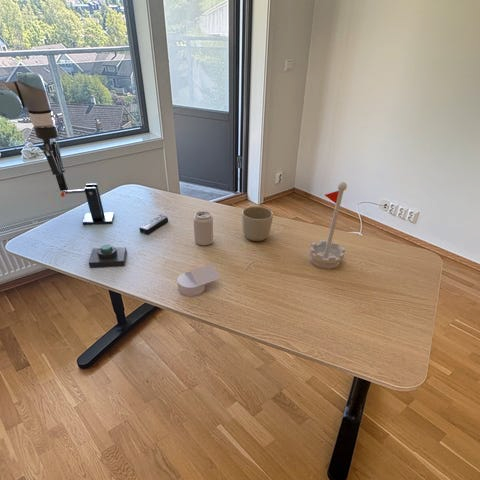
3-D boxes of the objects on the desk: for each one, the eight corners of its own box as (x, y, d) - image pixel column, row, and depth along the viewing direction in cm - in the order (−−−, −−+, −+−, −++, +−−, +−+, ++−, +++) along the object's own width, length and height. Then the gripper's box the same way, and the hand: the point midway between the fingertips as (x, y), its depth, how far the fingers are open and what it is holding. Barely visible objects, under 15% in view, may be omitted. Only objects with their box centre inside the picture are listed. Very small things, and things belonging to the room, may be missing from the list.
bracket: (82, 224, 147) (73, 190, 138) (86, 215, 154) (77, 182, 144) (112, 223, 149) (104, 189, 139) (114, 214, 156) (107, 181, 146)
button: (101, 253, 124) (99, 249, 123) (102, 248, 126) (101, 244, 125) (111, 253, 124) (110, 249, 123) (112, 248, 127) (111, 244, 126)
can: (208, 236, 144) (207, 208, 136) (216, 244, 139) (216, 215, 132) (191, 239, 141) (190, 211, 133) (199, 248, 136) (198, 219, 129)
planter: (264, 229, 151) (267, 205, 144) (274, 242, 142) (277, 218, 135) (237, 231, 148) (238, 207, 141) (245, 246, 139) (247, 220, 132)
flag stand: (343, 255, 136) (364, 178, 117) (340, 273, 127) (362, 192, 107) (310, 249, 139) (325, 173, 119) (305, 266, 130) (320, 185, 110)
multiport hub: (168, 221, 153) (168, 216, 151) (148, 235, 143) (147, 230, 141) (160, 219, 154) (159, 214, 153) (139, 232, 144) (138, 227, 143)
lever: (61, 198, 140) (59, 192, 139) (64, 192, 145) (62, 186, 143) (95, 195, 142) (93, 189, 140) (97, 190, 146) (95, 184, 144)
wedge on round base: (206, 273, 123) (173, 285, 117) (206, 257, 119) (171, 268, 113) (219, 286, 118) (186, 299, 112) (220, 270, 113) (184, 282, 107)
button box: (89, 268, 123) (87, 258, 120) (94, 253, 130) (91, 244, 128) (124, 266, 125) (122, 256, 122) (126, 252, 132) (124, 242, 130)
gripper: (51, 129, 121) (70, 196, 137) (59, 121, 131) (76, 183, 146) (28, 129, 120) (50, 196, 136) (38, 121, 130) (58, 184, 145)
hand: (64, 189), depth 141 cm, fingers closed
